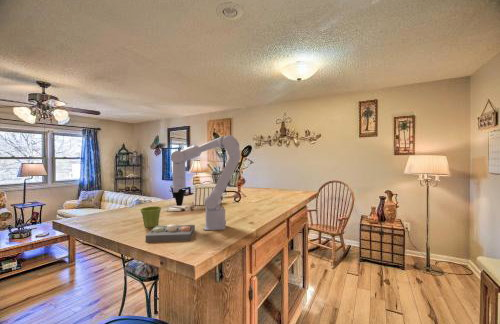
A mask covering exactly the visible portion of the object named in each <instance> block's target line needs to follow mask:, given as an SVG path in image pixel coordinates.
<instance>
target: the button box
mask: <svg viewBox="0 0 500 324" xmlns="http://www.w3.org/2000/svg"><path fill="white" fill-rule="evenodd" d="M167 225H168V224H166V225H158V226H155V227H164V231H163V232H153V228H151V230H150V231H149V232H147V234H146V235H145V243H152V242H153V243H159V242H183V241H185V242H186V241H189V242H190V241H191V240H192V238H193V235H194V233H195V232H196V226H195V225H196V224H177V232H167ZM182 226H190V231H186V232H180V227H182ZM155 227H154V228H155Z"/></svg>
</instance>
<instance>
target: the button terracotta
mask: <svg viewBox="0 0 500 324" xmlns="http://www.w3.org/2000/svg"><path fill="white" fill-rule="evenodd" d="M186 231H190V226H182V227H180V232H186Z"/></svg>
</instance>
